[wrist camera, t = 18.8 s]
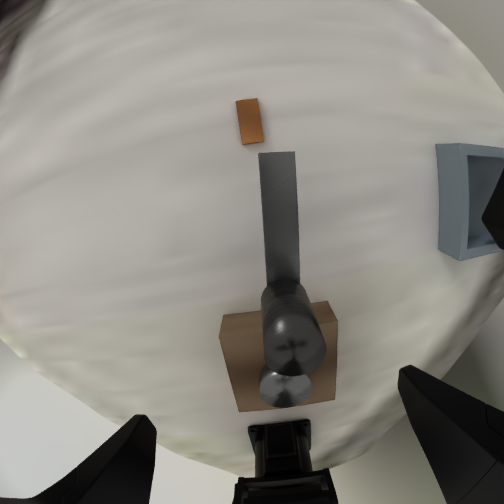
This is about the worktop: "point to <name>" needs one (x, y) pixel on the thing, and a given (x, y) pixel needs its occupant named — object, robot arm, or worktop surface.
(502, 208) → the battery
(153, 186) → the worktop surface
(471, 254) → the tray
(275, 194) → the crank
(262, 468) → the robot arm
